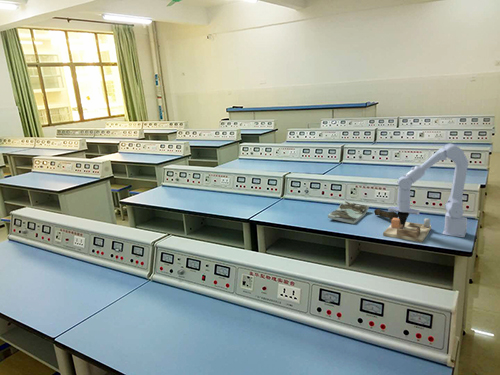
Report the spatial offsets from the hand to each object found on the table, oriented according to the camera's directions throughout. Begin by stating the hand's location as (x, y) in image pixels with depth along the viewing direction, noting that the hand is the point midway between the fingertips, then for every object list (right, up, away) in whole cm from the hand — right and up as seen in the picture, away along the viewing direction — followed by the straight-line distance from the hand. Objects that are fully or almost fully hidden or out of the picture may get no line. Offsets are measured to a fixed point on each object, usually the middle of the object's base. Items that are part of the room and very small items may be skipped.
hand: (403, 226), depth 188 cm
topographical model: (-20, +2, +30) cm, 36 cm away
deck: (+2, -3, -1) cm, 4 cm away
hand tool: (-2, 0, +23) cm, 23 cm away
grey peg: (+12, 0, -1) cm, 12 cm away
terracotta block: (-2, 0, +2) cm, 3 cm away
